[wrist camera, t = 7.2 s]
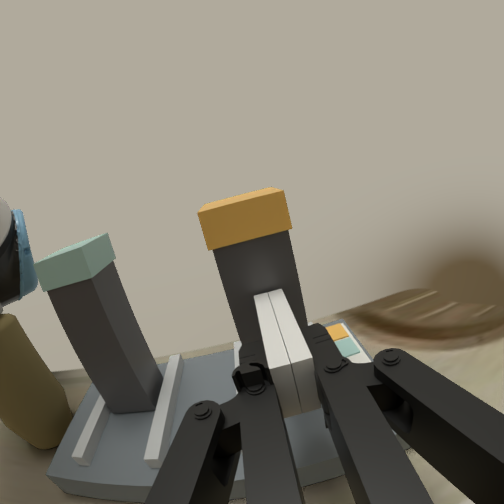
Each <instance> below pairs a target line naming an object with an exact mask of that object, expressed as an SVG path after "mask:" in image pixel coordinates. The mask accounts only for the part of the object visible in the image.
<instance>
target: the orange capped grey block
mask: <svg viewBox="0 0 504 504" xmlns="http://www.w3.org/2000/svg"><path fill="white" fill-rule="evenodd" d="M198 217H199V221H200V224H201V227H202V231H203V234H204V238H205V241H206V245H207V248H208V250H213V253H214V256H215V260H216V263H217V267H218V270H219V273H220V277H221V280H222V283H223V287H224V290H225V293H226V296H227V300H228V303H229V306H230V309H231V312H232V315H233V319H234V322H235V325H236V328H237V332H238V335H239V338H240V341H241V344H245V343H249V342H253V341H257V340H261V339H263V338H262V334H261V329H260V324H259V319H258V314H257V309H256V305H255V300H254V296H255V295H259V294H263V293H268V292H270V291H274V290H278V289H282V291H283V293H284V295H285V297H286V299H287V302H288V304H289V306H290V308H291V310H292V313H293V315H294V317H295V319H296V322H297V324H298V326H299V328H302V327H306V326H308V323H307V318H306V313H305V308H304V303H303V298H302V293H301V288H300V283H299V278H298V273H297V269H296V264H295V259H294V255H293V250H292V246H291V241H290V236H289V232H288V230H289V229H292V225H291V221H290V216H289V212H288V207H287V203H286V199H285V194H284V191H283V190H280V189H276V188H273V187H269V188H265V189H261V190H257V191H253V192H249V193H245V194H241V195H237V196H233V197H230V198H226V199H222V200H219V201H215V202H211V203H207V204H204V205H203V207H202V208H201V209H200V210H199V211H198ZM268 296H269V294H268ZM269 299H270V298H269Z"/></svg>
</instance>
